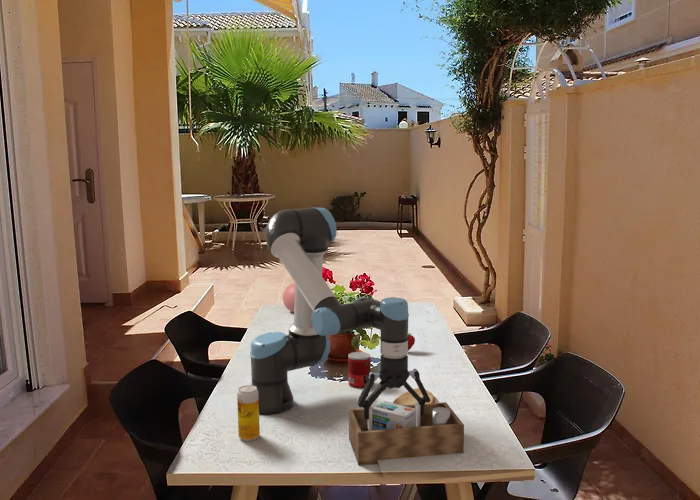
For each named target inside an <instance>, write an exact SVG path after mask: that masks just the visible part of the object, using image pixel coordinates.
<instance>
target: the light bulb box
mask: <svg viewBox="0 0 700 500" xmlns="http://www.w3.org/2000/svg"><path fill="white" fill-rule="evenodd" d="M372 408H373V407H372ZM372 414H373V415H372V431H373V430H386V429H398V428H411V427H416V409H415V408H410V407H406V406H402V405H398V404H394V403H393V402H390V401H386V400H384V401H382V402H380V403H379V404H377V405H376V406H374V408H373V413H372Z"/></svg>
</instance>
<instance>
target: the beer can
mask: <svg viewBox="0 0 700 500" xmlns="http://www.w3.org/2000/svg"><path fill="white" fill-rule="evenodd" d="M236 397H237V398H236V401H237V421H238V422H237V427H238V428H237V430H238V438H240V440H241V441H243V442H254V441H256V440H257V439H258V438H259V436H260V413H259V396H258V390H257V387H256V386H252V384H248V385H247V384H246V385H242V386H240V387H239V388H238V389H237V392H236Z"/></svg>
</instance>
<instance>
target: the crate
mask: <svg viewBox="0 0 700 500" xmlns="http://www.w3.org/2000/svg"><path fill="white" fill-rule="evenodd" d="M402 406H406V407H410V408H415V404H414V405H402ZM374 407H375V406H374ZM374 407H371V408H372V413H373V408H374ZM437 407H444V408H447V409H449V410H450V424H449V425H436V426H432V409H434V408H437ZM372 415H373V414H372ZM348 440H349V443H350V445H351V448H352V452H353V453H354V456H355V459H356V462H357V465H358V466H367V465H377V464H379V462H378V461H386V460H397V459H398V460H399V459H407V458H410V459H411V458H420V457H421V458H422V457H431V456H445V455H456V454H465V453H464V447H465V445H464V442H465V424H464V422H463V421H461V419H460V418H459V417H458V416H457V413H455V412H454V411H453V409H452V408H451V407H450V405H449V404H448V403H447V402H446V401H443V402H435V403H428V404H425V405H424V414H423V415H420V427H411V428H398V429H386V430H373V431H369V430H368V419H365V417H364V408H363V407H359V408H349V409H348Z"/></svg>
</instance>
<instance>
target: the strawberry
mask: <svg viewBox="0 0 700 500" xmlns="http://www.w3.org/2000/svg"><path fill="white" fill-rule="evenodd" d="M412 334H413V333H412V332H410V333H409V332H408V352H409V351H410V350H411V349H412V347H413V346H414V345H415V342H416V339H415V336H414V335H412Z"/></svg>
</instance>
